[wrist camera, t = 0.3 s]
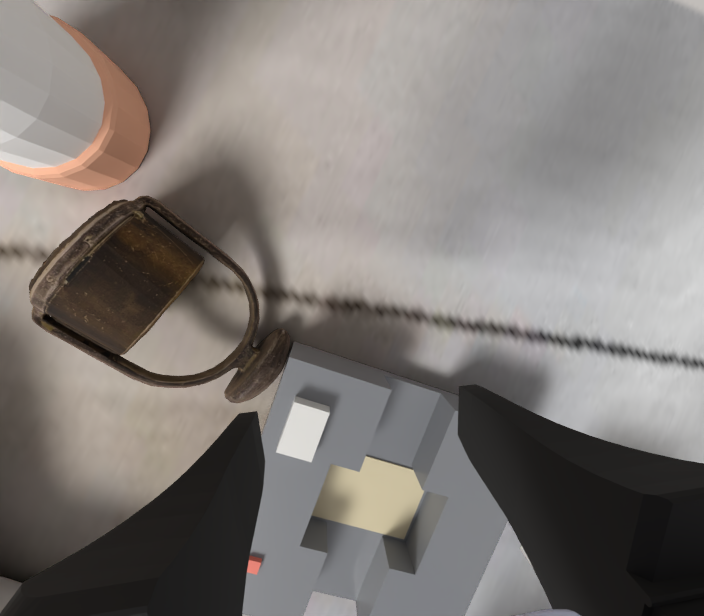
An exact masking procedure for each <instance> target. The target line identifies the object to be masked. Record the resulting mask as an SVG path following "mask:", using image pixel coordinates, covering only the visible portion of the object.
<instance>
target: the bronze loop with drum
mask: <svg viewBox="0 0 704 616" xmlns="http://www.w3.org/2000/svg"><path fill="white" fill-rule="evenodd" d="M146 207H149V208H151V209H152V210H153V211H155V212H156V213H157V214H158V215H160V216H161V217H162V218H163V219H165V220H166V221H167V222H169V223H170V224H171V225H172V226H174V227H175V228H176V229H177V230H179V231H180V232H181V233H182V234H184V235H185V236H186V237H188V238H189V239H190V240H192V241H193V242H195V243H196V244H197V245H199V246H200V247H202V248H203V249H205V250H206V251H207V252H209V253H210V254H211V255H212V256H213V257H215V258H216V259H217V260H218V261H220V262H221V263H222V264H224V265H225V266H226V267H228V268H229V269H230V270H232V271H233V272H234V273H235V274H236V276H237V277H238V278H239V279H240V280H241V281H242V283H243V286H244V289H245V291H246V294H247V298H248V301H249V310H250V317H249V323H248V328H247V330H246V333H245V335H244V337H243V340H242V342H241V343H240V344H239V345H238V347H237V348H236V349H235V350H234V351H233V352H232V353H231V354H230V355H229V356H228V357H227V358H226V359H225V360H224V361H223V362H221V363H220V364H218V365H217V366H215V367H214V368H212V369H209V370H207V371H204V372H202V373H198V374H195V375H186V376H170V375H161V374H156V373H152V372H149V371H147V370H145V369H143V368H141V367H140V366H138V365H136V364H134V363H132V362H130V361H128V360H126V359H124V358H123V357H121V356H120V355H122V354H125V353H127V352H128V351H129V349H131V348H132V347H133V346H134V345H135V344H136V343H137V342H138V341H139V340H140V339H141V338H142V337H143V336H144V335H145V334H146V333H147V332H148V331H149V330H150V329H151V328H152V327H153V325H154V324H155V323H156V322H157V320H158V319H159V318H160V317H161V315H162V314H163V313H164V312H165V311H166V309H167V308H168V307H169V306H170V305H171V304H172V303H173V302H174V301H175V299H176V298H177V297H178V296H179V295H180V294H181V292H182V291H183V290H184V289H185V287H186V286H187V285H188V284H189V282H190V281H191V280H192V279H193V278H194V277H195V276H196V275H197V273H198V272H199V270H200V268H201V267H202V265H203V264H204V261H205V260H204V258H203V257H202V256H201V255H199V254H198V253H197V252H196V251H194V250H193V249H192V248H190V247H189V246H188V245H186V244H185V243H184V242H183V241H181V240H180V239H179V238H177V237H176V236H175V235H174V234H172V233H171V232H170V231H168V230H167V229H166V228H165V227H163V226H162V225H161V224H159V223H158V222H157V221H155V220H154V219H153V218H151V217H150V216H149V215H148V214H147V213H146V212H145V210H146ZM29 290H30V292H29V293H30V302H31V304H32V305H33V309H32V320H33V321H34V322H35V323H36V324H37V325H39V326H40V327H41V328H42V329H44V330H45V331H46V332H48V333H50V334H52V335H54V336H56V337H58V338H60V339H62V340H64V341H65V342H67V343H69V344H71V345H72V346H74V347H76V348H78V349H79V350H81V351H83V352H85V353H86V354H88V355H90V356H92V357H94V358H95V359H97V360H99V361H101V362H103V363H105V364H106V365H108V366H110V367H112V368H114V369H116V370H117V371H119V372H121V373H123V374H124V375H126V376H128V377H130V378H132V379H134V380H137V381H140V382H142V383H145V384H147V385H150V386H157V387H167V388H186V387H191V386H196V385H201V384H205V383H207V382H210V381H212V380H215V379H217V378H219V377H220V376H222V375H223V374H225V373H227V372H228V371H230V370H231V369H233V368H238V371H237V372H236V374H235V375H234V377H233V378H232V380H231V382H230V383H229V385H228V387H227V388H226V390H225V392H224V393H225V397H226V399H228V400H229V401H230V402H233V403H240V402H244V401H247V400H250V399H252V398H254V397H255V396H257V395H259V394H260V393H261V392H262V391H264V390H265V389H266V388H267V387H268V386H269V385H270V384H271V383H272V382H273V381H274V380H275V379H276V378H277V377H278V375H279V374H280V372H281V371H282V369H283V367H284V365H285V362H286V359H287V355H288V352H289V348H290V336H289V334H288V333H287V331H286V330H285V329H283V328H281V329H276V330H275V331H274V332H272V333H271V334H269V335H268V336H267V337H266V338H265V339H264V340H263V341H262V342H261V343H260V344H259V345H258V346H257V347H253V346H252V345H253V342H254V340H255V337H256V333H257V329H258V324H259V319H260V317H259V303H258V299H257V295H256V292H255V290H254V287H253V285H252V283H251V281H250V279H249V277H248V276H247V275H246V273H245V272H244V270H243V269H242V268H241V267H240V266H239V265H238V264H237V263H236V262H235V261H233V260H232V259H231V258H230V257H229V256H228V255H227V254H226V253H224V252H223V251H222V250H220V249H219V248H218V247H217V246H215V245H214V244H213V243H212V242H210V241H209V240H208V239H206V238H205V237H204V236H203V235H201V234H200V233H199V232H198V231H196V230H195V229H194V228H193V227H191V226H190V225H189V224H187V223H186V222H185V221H184V220H182V219H181V218H180V217H179V216H177V215H176V214H175V213H173V212H172V211H171V210H170V209H168V208H167V207H166V206H165V205H163V204H162V203H161V202H159V201H158V200H156V199H154V198H152V197H149V196H140V197H138V198H137V199H135V200H134V201H127V200H120V201H113V202H112V203H111V204H109V205H108V206H106V207H105V208H104V209H102V210H100V211H98V212H97V213H96V214H94V215H93V216H92V217H91V218H89V219H88V221H86V222H85V223H83V224H82V225H81V226H80V227H79V228H78V229H77V230H76V231H75V232H74V233H73V234H72V235H71V236H70V237H68V238H67V239H66V240H64V241H63V242H62V243H61V244H60V245H59V247H57V248H56V249H55V250H54V251H53V252H52V254H51V255H50V256H49V257H48V259H47V260H46V261H45V262H43V265H42V267H40V268H39V270H38V271H37V273H36V275H35V276H34V278H33V279H32V280H31V282H30V285H29ZM50 315H51V317H50Z"/></svg>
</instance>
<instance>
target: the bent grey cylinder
mask: <svg viewBox="0 0 704 616" xmlns="http://www.w3.org/2000/svg"><path fill="white" fill-rule="evenodd" d="M21 585H22V583H21V582H18V581H14V580H11V579H8V578H5V577H2V576H0V613H1V611H2V610H3V609H4V607H5V606H6V605H7V603H8V602H9V601H10V599H11V598H12V596H13V595H14V594H15V592H16V591H17V590H18V589H19V587H20V586H21Z"/></svg>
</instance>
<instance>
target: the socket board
mask: <svg viewBox="0 0 704 616" xmlns="http://www.w3.org/2000/svg"><path fill="white" fill-rule="evenodd" d="M458 403H459V395H456V394H453V393H450V392H447V391H444V390H441V389H438V388H435V387H432V386H429V385H426V384H423V383H420V382H417V381H414V380H411V379H407V378H404V377H401V376H398V375H395V374H392V373H389V372H386V371H383V370H380V369H377V368H374V367H371V366H368V365H365V364H362V363H359V362H356V361H353V360H350V359H347V358H344V357H341V356H338V355H335V354H331V353H328V352H325V351H322V350H319V349H316V348H313V347H310V346H307V345H304V344H301V343H298V342H295V341H294V343H293V346H292V349H291V352H290V354H289V357H288V360H287V363H286V366H285V369H284V371H283V374H282V377H281V380H280V383H279V386H278V388H277V391H276V394H275V397H274V400H273V403H272V405H271V408H270V411H269V414H268V417H267V420H266V423H265V425H264V428H263V431H262V434H261V438H262V444H263V450H264V456H265V472H264V484H263V492H262V498H261V503H260V508H259V513H258V517H257V522H256V527H255V532H254V537H253V542H252V547H251V552H250V556H249V562H248V568H247V575H246V584H245V593H244V602H243V611H242V614H244V615H249V616H303V615H304V612H305V610H306V607H307V605H308V602H309V599H310V597H311V594H312V592H313V591H315V592H320V593H324V594H328V595H333V596H337V597H342V598H346V599H350V600H355V601H356V608H357V616H465V613H466V611H467V609H468V607H469V605H470V602H471V600H472V598H473V596H474V594H475V591H476V589H477V587H478V585H479V583H480V580H481V578H482V576H483V574H484V572H485V569H486V567H487V565H488V563H489V561H490V558H491V556H492V554H493V552H494V550H495V547H496V545H497V543H498V541H499V539H500V536H501V534H502V532H503V530H504V528H505V525H506V523H507V521H508V519H507V518H506V516H505V514H504V513H503V511H502V510H501V508H500V507H499V505H498V504H497V502H496V501H495V499H494V497H493V496H492V494H491V493H490V491H489V490H488V488H487V487H486V485H485V484H484V482H483V480H482V479H481V477H480V476H479V474H478V473H477V471H476V469H475V468H474V466H473V465H472V463H471V462H470V460H469V458H468V456H467V454H466V452H465V450H464V448H463V446H462V443H461V441H460V439H459V437H458Z"/></svg>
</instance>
